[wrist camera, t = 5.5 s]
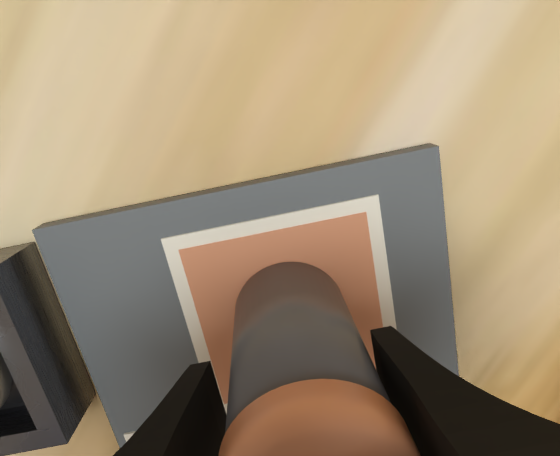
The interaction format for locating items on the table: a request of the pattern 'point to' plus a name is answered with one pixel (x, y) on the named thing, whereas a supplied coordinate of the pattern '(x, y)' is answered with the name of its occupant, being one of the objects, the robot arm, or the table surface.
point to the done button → (4, 381)
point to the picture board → (249, 269)
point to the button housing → (37, 358)
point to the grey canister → (305, 374)
